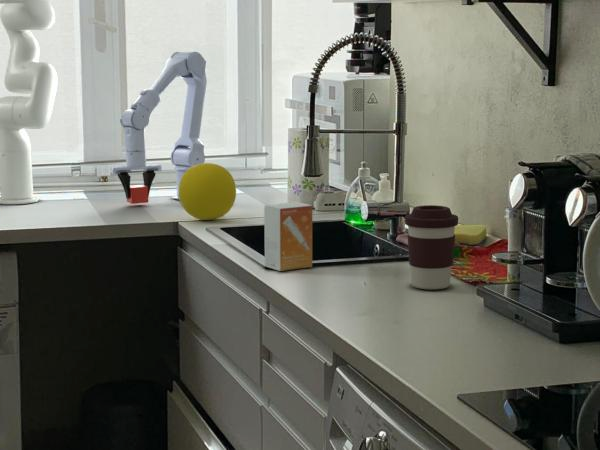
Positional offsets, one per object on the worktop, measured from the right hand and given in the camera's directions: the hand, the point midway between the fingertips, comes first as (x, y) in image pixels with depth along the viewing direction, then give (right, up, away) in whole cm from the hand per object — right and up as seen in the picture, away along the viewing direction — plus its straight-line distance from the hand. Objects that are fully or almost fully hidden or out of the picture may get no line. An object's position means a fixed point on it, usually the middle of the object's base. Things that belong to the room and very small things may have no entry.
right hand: (137, 197), depth 305 cm
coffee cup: (+72, -20, -107) cm, 130 cm away
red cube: (0, -1, 0) cm, 1 cm away
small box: (+45, -17, -88) cm, 100 cm away
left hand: (-51, +29, -28) cm, 65 cm away
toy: (+23, -7, -27) cm, 36 cm away
